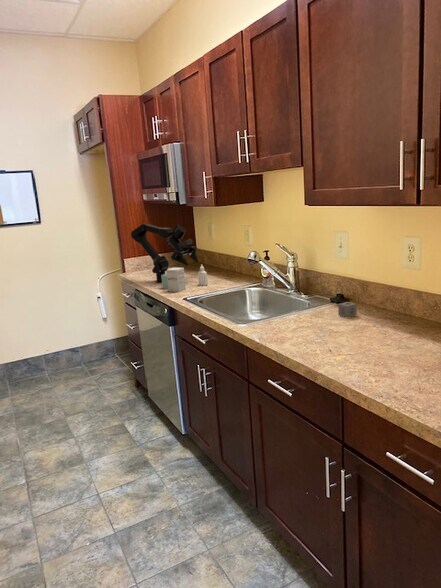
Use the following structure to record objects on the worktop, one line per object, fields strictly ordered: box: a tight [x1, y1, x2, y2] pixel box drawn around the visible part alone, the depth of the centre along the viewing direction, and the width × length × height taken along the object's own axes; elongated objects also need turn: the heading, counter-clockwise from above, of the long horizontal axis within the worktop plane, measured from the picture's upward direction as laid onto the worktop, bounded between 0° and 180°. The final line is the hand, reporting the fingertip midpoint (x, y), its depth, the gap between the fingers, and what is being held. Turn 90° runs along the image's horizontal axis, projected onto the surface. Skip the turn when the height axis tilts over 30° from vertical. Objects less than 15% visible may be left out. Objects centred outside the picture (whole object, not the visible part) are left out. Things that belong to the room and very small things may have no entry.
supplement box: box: [166, 267, 187, 293], centre depth 255 cm, size 7×7×13 cm
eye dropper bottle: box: [197, 264, 209, 287], centre depth 265 cm, size 4×6×12 cm
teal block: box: [161, 273, 168, 290], centre depth 264 cm, size 5×5×8 cm
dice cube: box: [337, 301, 358, 319], centre depth 185 cm, size 5×5×5 cm
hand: (193, 263), depth 267 cm, fingers open, 9 cm apart
